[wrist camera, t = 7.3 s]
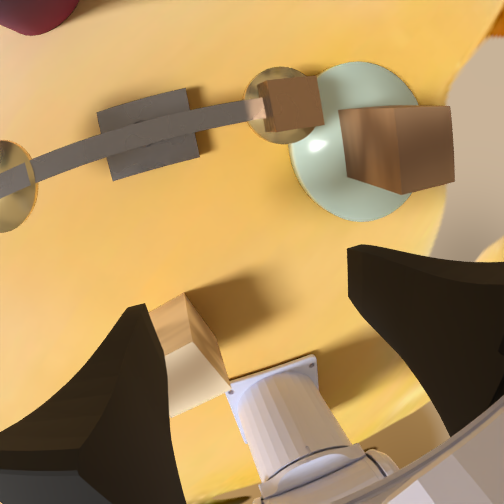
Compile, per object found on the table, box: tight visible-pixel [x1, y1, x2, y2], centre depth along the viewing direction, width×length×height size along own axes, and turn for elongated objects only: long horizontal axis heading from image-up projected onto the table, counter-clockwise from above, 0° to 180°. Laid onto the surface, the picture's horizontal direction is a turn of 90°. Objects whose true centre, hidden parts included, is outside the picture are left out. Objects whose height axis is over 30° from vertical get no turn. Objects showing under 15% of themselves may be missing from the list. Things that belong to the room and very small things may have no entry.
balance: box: [0, 67, 325, 233], centre depth 14 cm, size 4×18×6 cm, turn 101°
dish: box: [288, 62, 418, 222], centre depth 20 cm, size 11×11×1 cm
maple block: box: [149, 293, 232, 418], centre depth 19 cm, size 4×4×6 cm
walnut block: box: [338, 105, 455, 195], centre depth 17 cm, size 4×4×6 cm
